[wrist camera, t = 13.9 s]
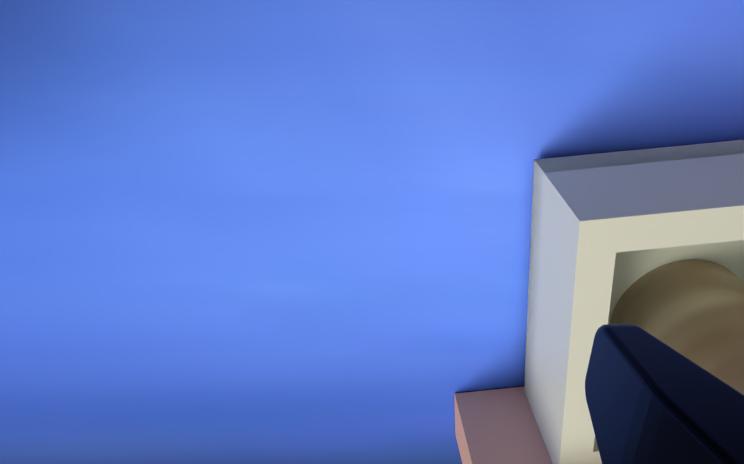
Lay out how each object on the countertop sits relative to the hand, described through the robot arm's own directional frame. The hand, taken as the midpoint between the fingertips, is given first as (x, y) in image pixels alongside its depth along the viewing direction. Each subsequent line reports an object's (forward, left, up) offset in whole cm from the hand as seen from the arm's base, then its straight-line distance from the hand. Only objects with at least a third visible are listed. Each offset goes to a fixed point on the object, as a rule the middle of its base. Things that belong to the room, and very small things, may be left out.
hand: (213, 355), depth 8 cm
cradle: (+12, -8, -12) cm, 18 cm away
